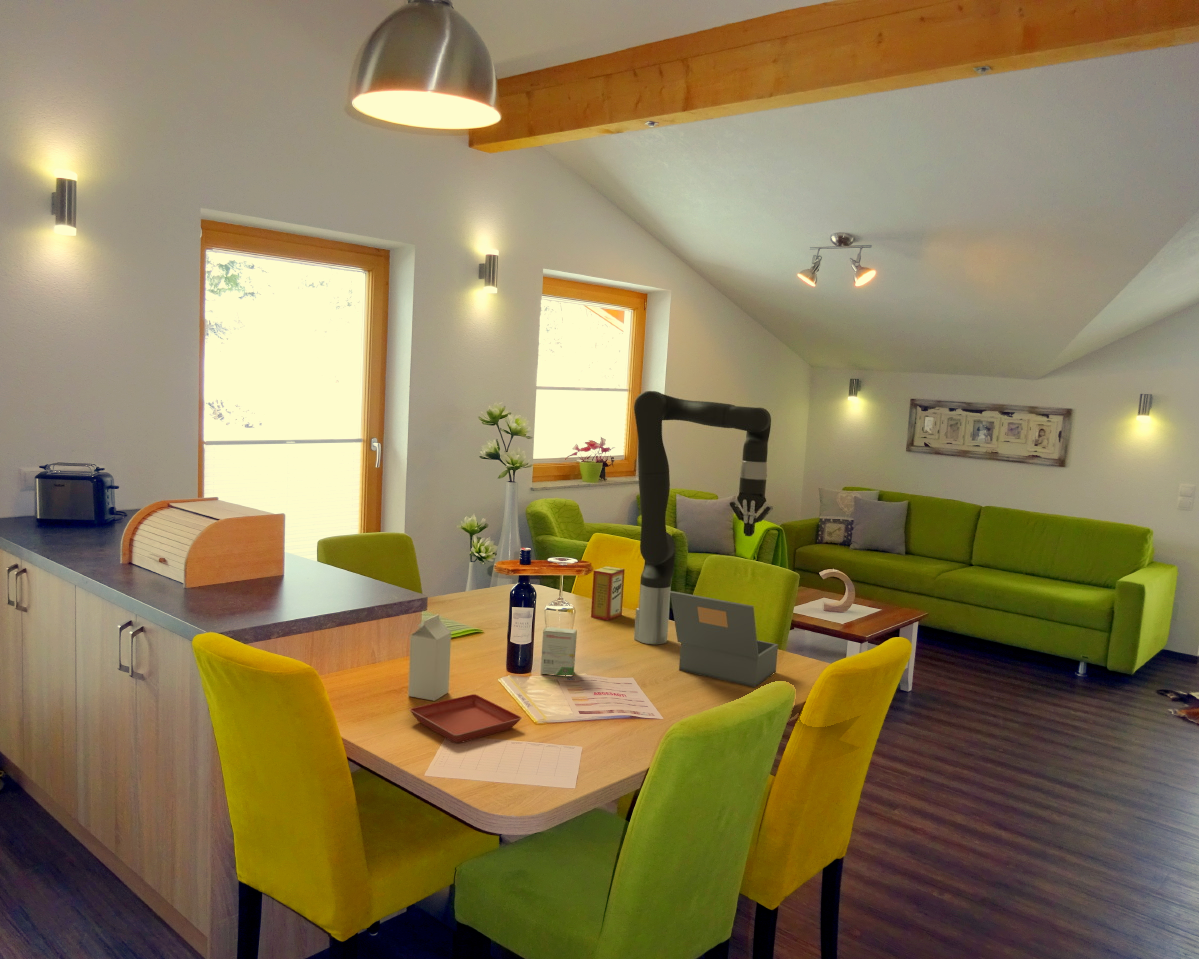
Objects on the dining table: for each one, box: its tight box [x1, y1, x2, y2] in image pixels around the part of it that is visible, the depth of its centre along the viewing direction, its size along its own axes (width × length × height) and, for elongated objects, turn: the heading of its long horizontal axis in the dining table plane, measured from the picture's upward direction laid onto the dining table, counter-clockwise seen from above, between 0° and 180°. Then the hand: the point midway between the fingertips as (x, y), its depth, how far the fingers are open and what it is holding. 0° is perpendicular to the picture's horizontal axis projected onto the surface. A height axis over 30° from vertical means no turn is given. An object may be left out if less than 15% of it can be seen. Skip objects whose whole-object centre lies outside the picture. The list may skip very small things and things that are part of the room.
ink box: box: [540, 626, 578, 676], centre depth 244 cm, size 9×5×12 cm, turn 84°
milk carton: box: [407, 613, 452, 702], centre depth 222 cm, size 7×7×19 cm
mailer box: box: [678, 639, 779, 688], centre depth 255 cm, size 22×16×8 cm
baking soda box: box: [590, 565, 625, 621], centre depth 307 cm, size 10×6×16 cm
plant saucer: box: [409, 693, 522, 744], centre depth 205 cm, size 18×18×3 cm
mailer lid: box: [670, 590, 759, 659], centre depth 243 cm, size 23×16×1 cm
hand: (748, 535), depth 270 cm, fingers closed
